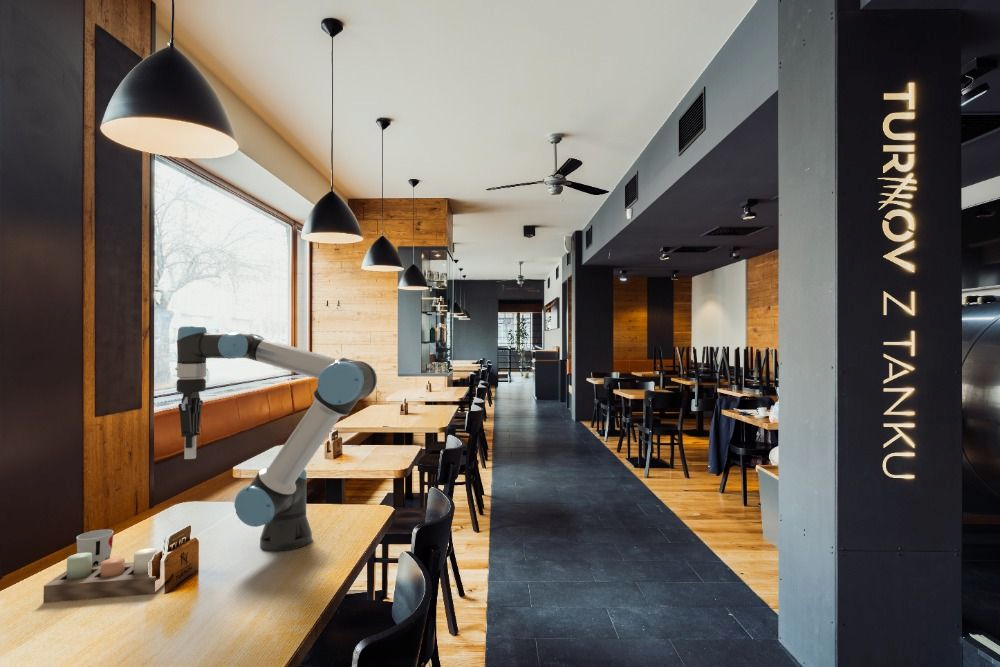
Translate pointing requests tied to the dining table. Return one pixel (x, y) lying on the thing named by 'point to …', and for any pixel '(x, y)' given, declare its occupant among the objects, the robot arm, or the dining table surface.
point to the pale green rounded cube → (79, 565)
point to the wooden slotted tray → (99, 586)
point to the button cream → (143, 560)
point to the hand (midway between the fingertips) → (190, 458)
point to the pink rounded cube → (112, 567)
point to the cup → (96, 545)
